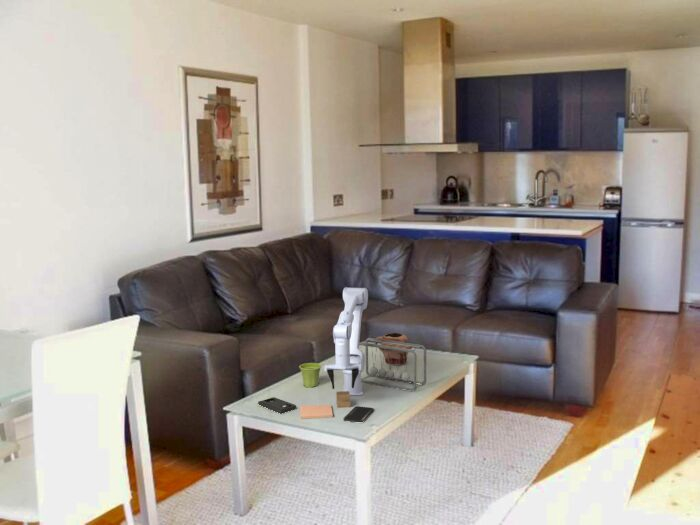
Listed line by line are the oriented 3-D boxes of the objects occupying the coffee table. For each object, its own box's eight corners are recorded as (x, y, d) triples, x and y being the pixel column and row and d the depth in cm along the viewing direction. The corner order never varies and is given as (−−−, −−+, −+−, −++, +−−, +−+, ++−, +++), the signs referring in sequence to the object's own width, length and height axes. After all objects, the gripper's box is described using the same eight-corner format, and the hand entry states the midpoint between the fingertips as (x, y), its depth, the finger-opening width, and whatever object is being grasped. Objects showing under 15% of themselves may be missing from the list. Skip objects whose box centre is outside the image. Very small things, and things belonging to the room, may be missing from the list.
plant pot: (318, 389, 307) (318, 369, 306) (297, 388, 309) (296, 368, 307) (324, 382, 316) (323, 363, 315) (303, 381, 318) (302, 362, 317)
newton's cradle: (354, 381, 317) (353, 341, 315) (366, 375, 326) (366, 336, 324) (415, 392, 302) (415, 350, 299) (426, 385, 310) (426, 345, 308)
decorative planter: (368, 363, 345) (368, 334, 343) (379, 357, 355) (379, 329, 353) (406, 368, 335) (406, 339, 333) (417, 362, 346) (417, 333, 344)
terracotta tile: (300, 407, 284) (300, 405, 284) (330, 406, 285) (330, 404, 285) (300, 418, 272) (300, 416, 272) (332, 417, 273) (332, 415, 273)
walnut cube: (336, 403, 289) (336, 391, 288) (349, 403, 289) (348, 391, 289) (337, 407, 284) (337, 395, 283) (350, 407, 284) (350, 395, 284)
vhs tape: (296, 410, 283) (296, 405, 283) (281, 415, 278) (280, 410, 278) (273, 401, 293) (273, 396, 293) (258, 406, 288) (258, 401, 288)
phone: (374, 408, 281) (362, 421, 267) (374, 410, 281) (362, 424, 267) (355, 405, 284) (342, 418, 270) (355, 408, 284) (342, 421, 270)
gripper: (324, 357, 279) (325, 391, 281) (362, 356, 280) (362, 390, 282) (323, 352, 286) (324, 386, 288) (360, 351, 287) (360, 384, 289)
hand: (343, 387), depth 286 cm, fingers open, 7 cm apart
